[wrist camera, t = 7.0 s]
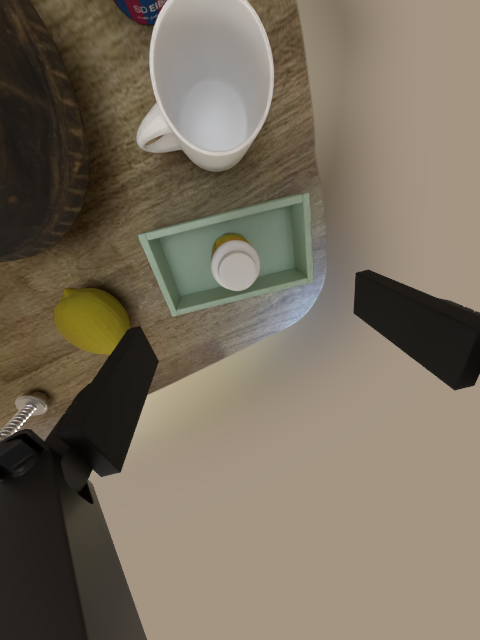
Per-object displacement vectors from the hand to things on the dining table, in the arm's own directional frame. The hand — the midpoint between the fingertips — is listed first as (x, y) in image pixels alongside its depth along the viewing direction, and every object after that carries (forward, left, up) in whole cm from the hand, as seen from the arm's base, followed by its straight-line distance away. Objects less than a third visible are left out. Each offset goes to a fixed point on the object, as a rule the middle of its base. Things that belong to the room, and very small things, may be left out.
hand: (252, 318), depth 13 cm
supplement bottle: (0, 0, -20) cm, 20 cm away
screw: (+40, +17, -21) cm, 48 cm away
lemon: (+20, +4, -21) cm, 29 cm away
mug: (0, -14, -21) cm, 25 cm away
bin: (0, 0, -21) cm, 21 cm away
